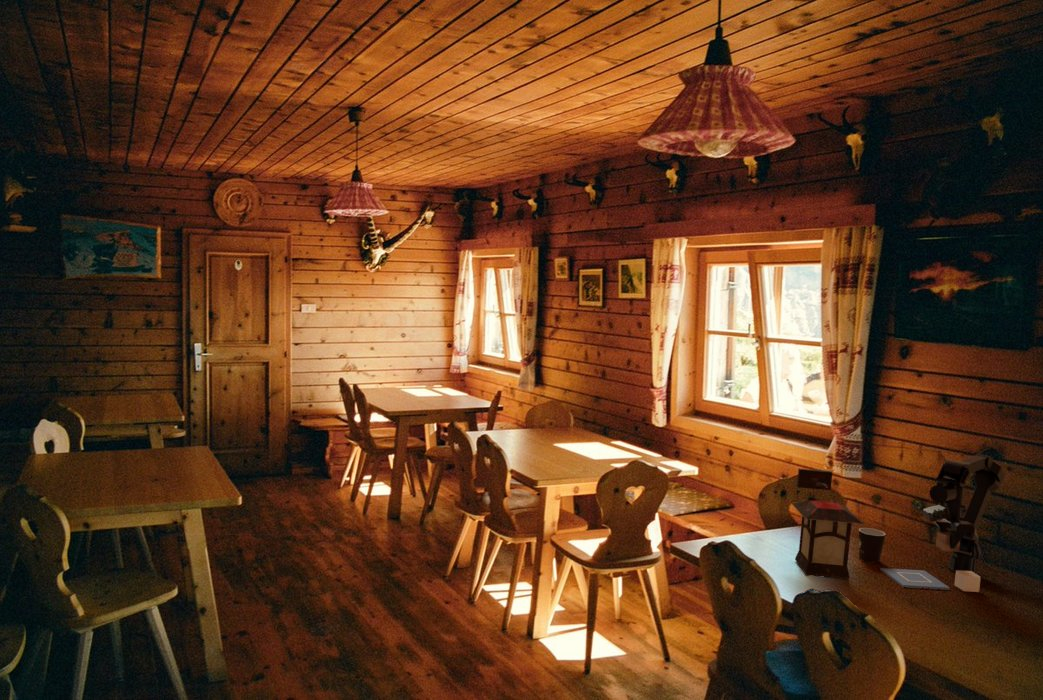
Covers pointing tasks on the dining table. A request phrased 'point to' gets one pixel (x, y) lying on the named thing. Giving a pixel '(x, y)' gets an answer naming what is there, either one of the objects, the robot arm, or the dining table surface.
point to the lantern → (823, 529)
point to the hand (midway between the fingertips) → (947, 545)
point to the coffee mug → (870, 544)
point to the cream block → (967, 581)
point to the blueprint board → (914, 579)
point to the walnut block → (945, 542)
